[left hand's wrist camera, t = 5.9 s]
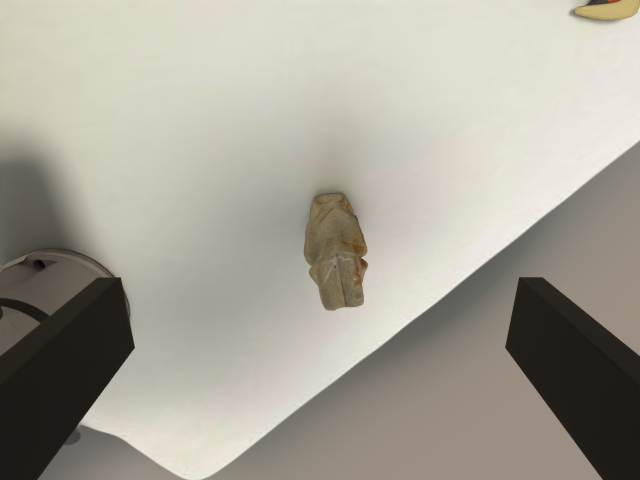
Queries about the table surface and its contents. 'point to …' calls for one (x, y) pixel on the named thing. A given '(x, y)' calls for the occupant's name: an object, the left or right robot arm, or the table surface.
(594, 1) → the toy gun
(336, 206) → the sculpture
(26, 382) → the left robot arm
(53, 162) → the table surface
